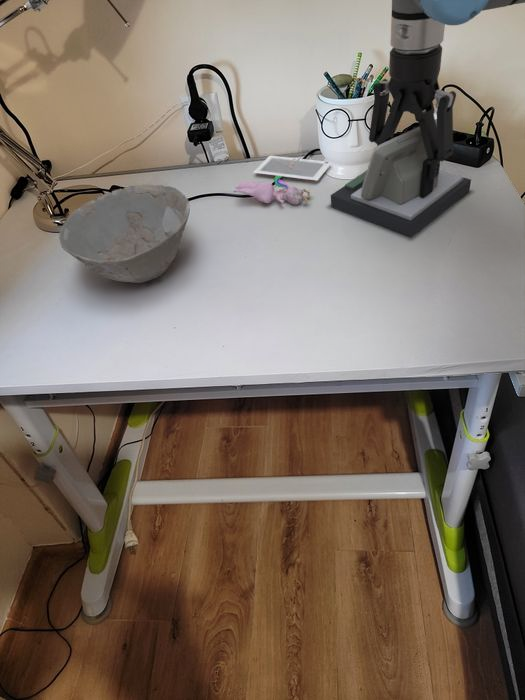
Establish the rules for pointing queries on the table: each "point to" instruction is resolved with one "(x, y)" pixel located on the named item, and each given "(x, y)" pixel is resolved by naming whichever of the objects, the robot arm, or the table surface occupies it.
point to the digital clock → (397, 168)
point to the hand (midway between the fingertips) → (406, 187)
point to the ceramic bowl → (128, 232)
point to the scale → (406, 215)
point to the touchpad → (292, 167)
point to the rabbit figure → (272, 191)
